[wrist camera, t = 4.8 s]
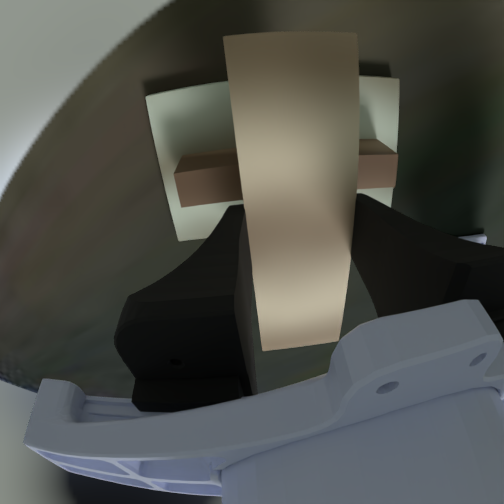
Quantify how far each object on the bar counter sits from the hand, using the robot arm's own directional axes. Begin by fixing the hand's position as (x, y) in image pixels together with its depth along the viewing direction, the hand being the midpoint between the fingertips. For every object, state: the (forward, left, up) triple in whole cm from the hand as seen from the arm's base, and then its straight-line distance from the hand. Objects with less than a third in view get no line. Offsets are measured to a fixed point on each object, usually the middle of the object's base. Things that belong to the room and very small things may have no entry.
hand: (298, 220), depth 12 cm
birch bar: (0, 0, -3) cm, 3 cm away
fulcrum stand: (0, -1, -8) cm, 8 cm away
